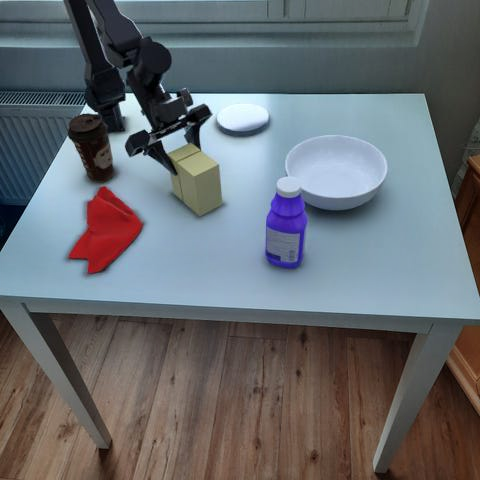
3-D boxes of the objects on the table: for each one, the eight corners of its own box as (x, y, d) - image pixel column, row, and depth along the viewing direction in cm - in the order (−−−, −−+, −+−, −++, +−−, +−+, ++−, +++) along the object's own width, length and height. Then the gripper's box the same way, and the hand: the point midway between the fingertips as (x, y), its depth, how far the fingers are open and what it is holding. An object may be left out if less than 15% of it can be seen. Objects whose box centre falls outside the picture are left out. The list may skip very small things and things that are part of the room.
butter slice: (173, 193, 103) (166, 153, 95) (196, 182, 105) (190, 142, 97) (182, 201, 101) (175, 161, 93) (205, 190, 103) (200, 149, 95)
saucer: (214, 111, 123) (214, 106, 122) (264, 106, 123) (264, 100, 122) (220, 139, 115) (220, 133, 114) (272, 133, 116) (273, 127, 114)
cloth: (130, 274, 89) (127, 266, 87) (60, 273, 90) (55, 265, 88) (153, 187, 105) (151, 179, 103) (93, 187, 106) (90, 179, 104)
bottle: (306, 252, 91) (314, 176, 77) (299, 273, 87) (305, 198, 74) (270, 245, 92) (271, 169, 78) (262, 265, 89) (261, 190, 75)
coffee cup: (125, 164, 111) (110, 111, 100) (116, 186, 106) (100, 133, 95) (89, 163, 111) (71, 110, 101) (78, 185, 106) (58, 132, 96)
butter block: (183, 202, 101) (176, 162, 93) (206, 191, 103) (201, 150, 95) (199, 216, 98) (193, 176, 90) (222, 204, 100) (219, 164, 92)
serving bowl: (263, 195, 101) (263, 168, 96) (322, 151, 110) (325, 124, 105) (343, 238, 92) (348, 211, 87) (400, 187, 101) (408, 159, 96)
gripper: (117, 95, 83) (161, 177, 87) (202, 61, 90) (240, 139, 93) (107, 119, 93) (147, 191, 97) (185, 87, 100) (220, 156, 103)
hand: (189, 169), depth 97 cm, fingers closed on butter slice, 6 cm apart
